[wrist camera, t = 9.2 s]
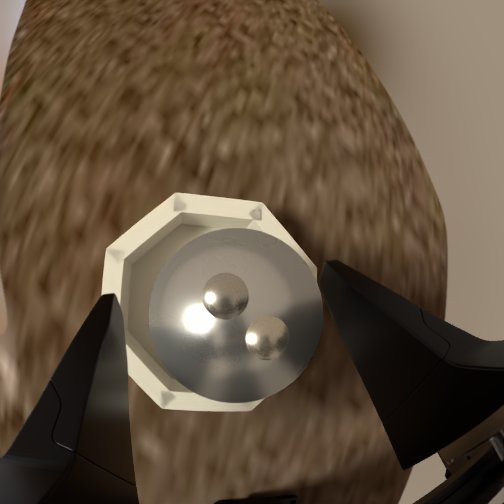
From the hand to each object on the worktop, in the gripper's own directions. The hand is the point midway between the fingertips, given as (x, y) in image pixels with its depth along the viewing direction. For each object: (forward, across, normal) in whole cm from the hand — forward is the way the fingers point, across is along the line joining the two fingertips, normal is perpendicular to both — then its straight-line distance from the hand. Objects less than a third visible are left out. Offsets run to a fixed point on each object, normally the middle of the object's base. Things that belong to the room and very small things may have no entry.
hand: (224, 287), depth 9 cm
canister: (+5, 0, +6) cm, 8 cm away
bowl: (+6, 0, +7) cm, 9 cm away
